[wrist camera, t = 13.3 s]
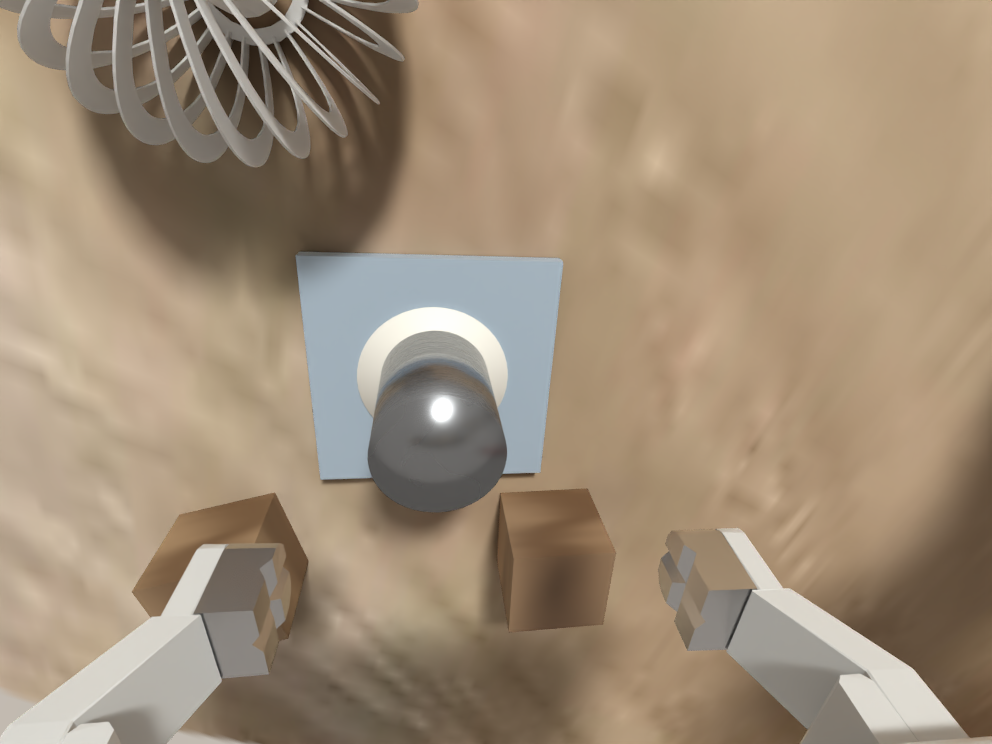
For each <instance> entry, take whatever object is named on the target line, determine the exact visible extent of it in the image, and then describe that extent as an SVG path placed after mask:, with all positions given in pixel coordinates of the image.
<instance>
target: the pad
mask: <svg viewBox="0 0 992 744" xmlns="http://www.w3.org/2000/svg"><path fill="white" fill-rule="evenodd" d="M296 265H297V273H298V282H299V291H300V300H301V309H302V318H303V327H304V336H305V345H306V354H307V363H308V372H309V380H310V389H311V398H312V407H313V416H314V425H315V434H316V443H317V452H318V461H319V470H320V479H321V480H322V479H354V478H372V476H371V473H370V470H369V467H368V447H369V441H370V435H371V430H372V424H373V418H374V412H375V406H376V400H377V394H378V388H379V383H380V377H381V371H382V367H383V364H384V361H385V359H386V357H387V356H388V354H389V353H390V351H391V350H392V349H393V348H394V347H395V346H396V345H397V344H398V343H399V342H401V341H402V340H404V339H405V338H407V337H409V336H411V335H414V334H417V333H420V332H425V331H445V332H450V333H453V334H456V335H459V336H461V337H463V338H465V339H466V340H468V341H469V342H470V343H472V344H473V345H474V346H475V347H476V348H477V349H478V351H479V352H480V353H481V355H482V357H483V359H484V361H485V363H486V366H487V370H488V374H489V377H490V381H491V385H492V389H493V393H494V397H495V401H496V405H497V409H498V412H499V416H500V420H501V424H502V428H503V432H504V436H505V440H506V445H507V460H506V465H505V468H504V471H503V473H502V474H510V473H540V470H541V460H542V451H543V442H544V433H545V424H546V415H547V406H548V397H549V387H550V378H551V369H552V360H553V351H554V342H555V333H556V324H557V315H558V305H559V296H560V287H561V278H562V269H563V261H562V260H561V259H560V258H536V257H497V256H458V255H418V254H379V253H339V252H300V251H299V252H298V253H297V255H296Z"/></svg>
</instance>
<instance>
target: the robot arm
mask: <svg viewBox="0 0 992 744" xmlns="http://www.w3.org/2000/svg"><path fill="white" fill-rule="evenodd" d="M665 544H666V546H667V548H668V550H669V552H668V553H666V554H665V555H664V556H663V557H662V558H661V561H660V565H659V569H658V572H659V584H660V588H661V592H662V594H663V597H664V599H665V602H666V603H667V604H668V605H669V606H671V607H672V608H673V609H674V610H675V611H677V614H676V618H675V621H674V622H675V624H676V626H677V629H678V631H679V633H680V635H681V638H682V640H683V642H684V644H685V646H686V649H687V651H695V650H727V653H728V654H729V655H730V656H731V657H732V658H733V659H735V660H736V661H737V662H738V663H739V664H740V665H741V666H742V667H743V668H744V669H745V670H746V671H747V672H748V673H749V674H750V675H751V676H752V677H753V678H754V679H755V680H756V681H757V682H759V683H760V684H761V685H762V686H763V687H764V688H765V689H766V690H767V691H768V692H769V693H770V694H771V695H772V696H773V697H774V698H775V699H776V700H777V701H778V702H779V703H780V704H781V705H782V706H784V707H785V708H786V709H787V710H788V711H789V712H790V713H791V714H792V715H793V716H794V717H795V718H796V719H797V720H798V721H799V722H800V723H801V724H802V725H803V726H804V727H805V728H806V729H808V730H807V732H806V733H805V735H804V737H803V738H802V740H801V742H800V744H992V736H986V737H974V738H970V737H969V736H968V735H967V734H966V733H965V731H964V730H963V729H962V728H961V727H960V725H959V724H958V723H957V722H956V720H955V719H954V718H953V717H952V716H951V714H950V713H949V712H948V711H947V709H946V708H945V707H944V706H943V705H942V703H941V702H940V701H939V700H938V698H937V697H936V696H935V695H934V694H933V692H932V691H931V690H930V689H929V687H928V686H927V685H926V684H925V683H924V681H923V680H922V679H921V678H920V676H919V675H918V674H917V673H916V672H915V670H914V669H913V668H911V667H910V666H908V665H907V664H905V663H903V662H902V661H900V660H899V659H897V658H896V657H894V656H893V655H891V654H890V653H888V652H887V651H885V650H884V649H882V648H880V647H879V646H877V645H876V644H874V643H873V642H871V641H870V640H868V639H867V638H865V637H864V636H862V635H861V634H859V633H857V632H856V631H854V630H853V629H851V628H850V627H848V626H847V625H845V624H844V623H842V622H841V621H839V620H838V619H836V618H834V617H833V616H831V615H830V614H828V613H827V612H825V611H824V610H822V609H821V608H819V607H818V606H816V605H815V604H813V603H811V602H810V601H808V600H807V599H805V598H804V597H802V596H801V595H799V594H798V593H796V592H795V591H793V590H792V589H783V587H782V586H781V585H780V583H779V582H778V580H777V579H776V577H775V576H774V575H773V573H772V572H771V570H770V569H769V567H768V566H767V565H766V563H765V562H764V560H763V559H762V557H761V556H760V555H759V553H758V552H757V550H756V549H755V547H754V546H753V545H752V543H751V542H750V540H749V539H748V537H747V536H746V535H745V533H744V532H743V531H742V530H740V529H739V528H724V529H698V530H674V531H671V532H670V533H669V534H668V536H667V539H666V543H665ZM285 559H286V553H285V549H284V545H283V544H281V543H232V544H203V545H202V546H201V547H199V548H198V549H197V550H196V552H195V553H194V555H193V557H192V559H191V561H190V563H189V564H188V566H187V568H186V570H185V572H184V574H183V576H182V577H181V579H180V581H179V583H178V585H177V587H176V588H175V590H174V592H173V594H172V596H171V598H170V599H169V601H168V603H167V605H166V607H165V609H164V611H163V612H162V614H161V616H156V617H151V618H150V619H148V620H147V621H146V622H144V623H143V624H142V625H140V626H139V627H138V628H137V629H135V630H134V631H133V632H131V633H130V634H129V635H127V636H126V637H125V638H123V639H122V640H121V641H119V642H118V643H117V644H115V645H114V646H113V647H111V648H110V649H109V650H107V651H106V652H105V653H104V654H102V655H101V656H100V657H98V658H97V659H96V660H94V661H93V662H92V663H90V664H89V665H88V666H86V667H85V668H84V669H82V670H81V671H80V672H78V673H77V674H76V675H74V676H73V677H72V678H70V679H69V680H68V681H67V682H65V683H64V684H63V685H61V686H60V687H59V688H57V689H56V690H55V691H53V692H52V693H51V694H49V695H48V696H47V697H45V698H44V699H43V700H41V701H40V702H39V703H37V704H36V705H35V706H34V707H32V708H31V709H30V710H29V711H27V712H26V713H24V714H23V715H22V716H20V717H19V718H18V719H16V720H15V721H14V722H12V723H11V724H10V725H9V726H8V727H7V728H6V730H5V731H4V733H3V734H2V736H1V737H0V744H166V743H167V742H168V741H169V740H170V739H171V738H172V737H173V736H174V735H175V733H176V732H177V731H178V730H179V729H180V728H181V727H182V726H183V724H184V723H185V722H186V721H187V720H188V719H189V718H190V717H191V715H192V714H193V713H194V712H195V711H196V710H197V709H198V708H199V707H200V705H201V704H202V703H203V702H204V701H205V700H206V699H207V698H208V696H209V695H210V694H211V693H212V692H213V691H214V690H215V689H216V687H217V686H218V685H219V684H220V683H221V682H222V679H221V678H233V677H245V676H257V675H268V674H269V673H270V670H271V666H272V663H273V660H274V657H275V653H276V650H277V647H278V643H279V639H278V634H277V628H278V627H279V626H280V625H281V624H282V623H283V622H284V621H285V620H286V616H287V613H288V609H289V604H290V596H291V579H290V573H289V571H288V570H286V569H285V568H284V567H283V565H284V562H285Z"/></svg>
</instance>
